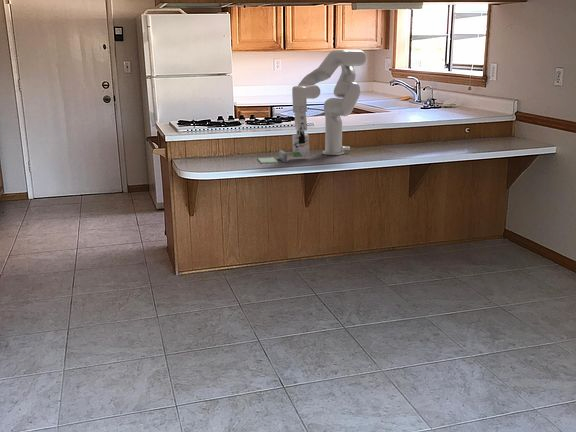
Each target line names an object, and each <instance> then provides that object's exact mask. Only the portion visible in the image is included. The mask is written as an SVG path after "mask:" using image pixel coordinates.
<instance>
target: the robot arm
mask: <svg viewBox="0 0 576 432" xmlns="http://www.w3.org/2000/svg"><path fill="white" fill-rule="evenodd" d="M366 62H367V55H366V53H365V52H364V51H363V50H360V49H359V50H357V49H356V50H348V49H334V50H331V51H330V52H329V53H328V54H327V56H326V57H325V58H324V60H323V61H322V62H321V63H320V65H319V66H318V67H317V68H316V69H314V70H313V71H311V72H309V73H308V74H306V75H305V76H304V77H303V78H302V79H301V80H300V82H298V85H295V86H292V89H291V91H292V92H291V93H292V113H294V128H295V130H296V134H299V144H304V143H305V134H306V133H305V131H307V130H308V122H307V121H308V120H307V112H308V109H307V108H308V107H307V106H308V105H307V104H308V103H307V99H308V100H310V99H311V100H314V99H317V98H318V97H320V95H321V89H320V87H319V86H318V85H317V83H318V84H319V83H321V82H324V81H326V80H328V79H330V78H331V77H332V75H333V74H334V73H335V71H336V70H337V69H338V68H339V67H341V73H340V76H339V77H338V79H337V82H336V85H335V86H334V89H333V95H334V97H331V98H328V99H326V100H325V101H324V103H323V112H324V117H325V136H324V137H325V138H324V139H325V142H324V143H325V149H324V150H323V151H322V154H323V155H325V156H326V155H328V156H339V155H344V154H345V151H349V150H351V147H350V146H343V120H342V117H347V116H349V115H351V114H352V112H353V110H354V108H355V106H356V104H357V102H358V100H359V98H360V95H361V87H360V85H359V84H358V83H357V82H355V80H356V77H357V76H356V71H355V67H361V66H364V64H365V63H366Z"/></svg>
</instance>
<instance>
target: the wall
mask: <svg viewBox="0 0 576 432" xmlns="http://www.w3.org/2000/svg"><path fill="white" fill-rule="evenodd" d="M278 159H279V160H280V161H281V160H282V161H283V162H284V163H288V154H287V153H286V152H285V151H284V150H283V149H281V150H280V149H279V150H278ZM282 161H281V162H282ZM283 162H282V163H283Z"/></svg>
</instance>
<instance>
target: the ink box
mask: <svg viewBox="0 0 576 432" xmlns="http://www.w3.org/2000/svg"><path fill="white" fill-rule="evenodd" d="M291 138H292V139H291V140H292V142H291V143H292V156H293V157H295V158H297V157H299V158H301V157H309V156H310V135H309V134H308V133H305V143H304V144H299V134H297V133H294V134H292V137H291Z"/></svg>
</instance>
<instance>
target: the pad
mask: <svg viewBox="0 0 576 432" xmlns="http://www.w3.org/2000/svg"><path fill="white" fill-rule="evenodd" d="M257 160H258V162H260V164H261V163H264V164H279V161H278V160H277V159H276V158H275V157H257Z"/></svg>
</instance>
